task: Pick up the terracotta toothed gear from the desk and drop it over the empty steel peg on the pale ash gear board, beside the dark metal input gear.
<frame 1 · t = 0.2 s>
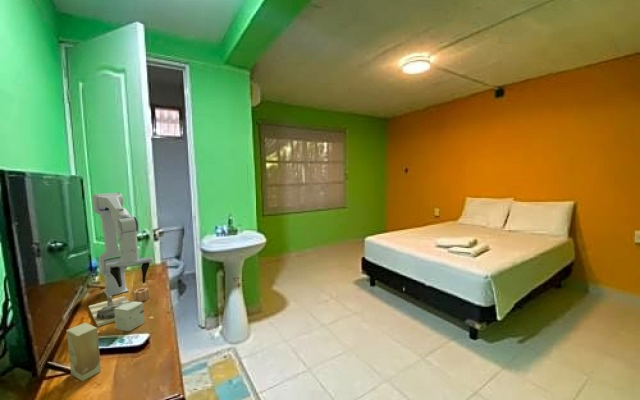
hand: (132, 284, 110), 10 cm above the table, fingers open, 7 cm apart
skincare box: (130, 326, 99), on the table
loose gear: (141, 299, 119), on the table
gear board: (112, 310, 110), on the table
skincare box 2: (86, 373, 75), on the table
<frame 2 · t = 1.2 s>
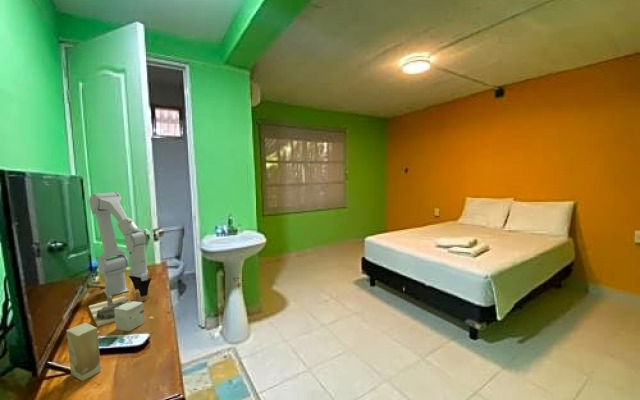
hand: (141, 293, 119), 3 cm above the table, fingers open, 7 cm apart
nothing on the table moved.
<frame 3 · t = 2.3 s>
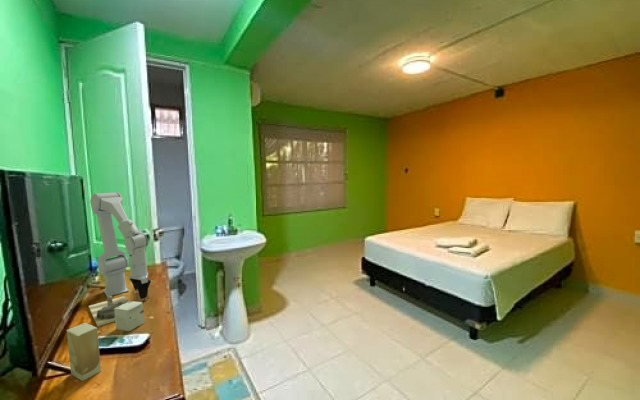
hand: (141, 295, 119), 2 cm above the table, fingers closed on loose gear, 5 cm apart
loose gear: (141, 299, 119), on the table, touching gripper
everything else where it was.
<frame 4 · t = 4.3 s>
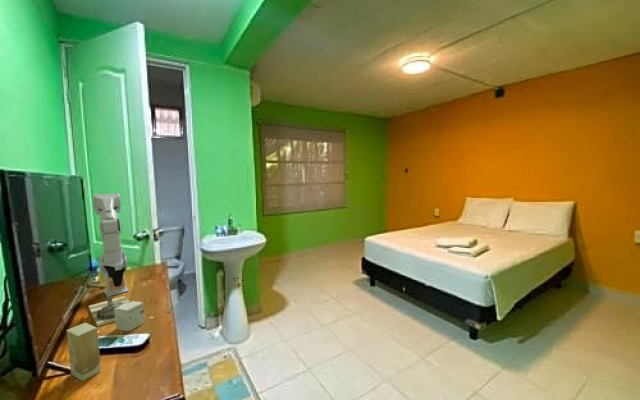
hand: (116, 283, 113), 9 cm above the table, fingers closed on loose gear, 5 cm apart
loose gear: (116, 287, 113), point 7 cm above the table, touching gripper
everything else where it was.
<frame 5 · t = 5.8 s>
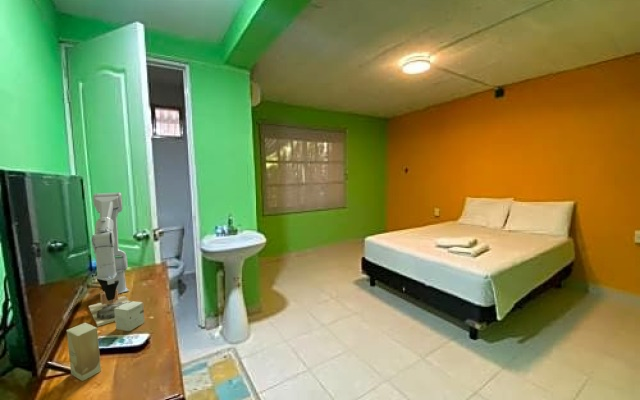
hand: (109, 297, 112), 4 cm above the table, fingers closed on loose gear, 5 cm apart
loose gear: (109, 301, 112), point 3 cm above the table, touching gripper
everything else where it was.
when the fingers open (4 cm above the table, at t = 6.6 s): loose gear drops 2 cm, resting on gear board.
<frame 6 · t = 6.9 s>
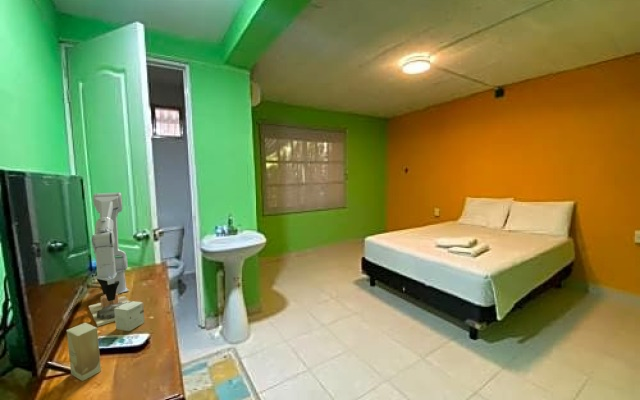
hand: (109, 297, 112), 4 cm above the table, fingers open, 7 cm apart
loose gear: (110, 305, 113), point 1 cm above the table, touching gear board
everything else where it was.
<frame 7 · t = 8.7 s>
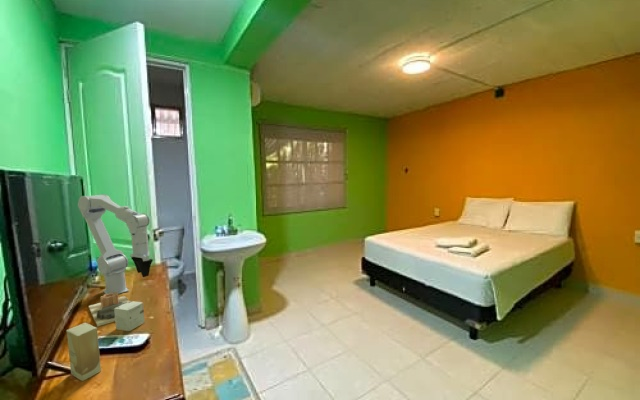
hand: (143, 274, 122), 9 cm above the table, fingers open, 7 cm apart
nothing on the table moved.
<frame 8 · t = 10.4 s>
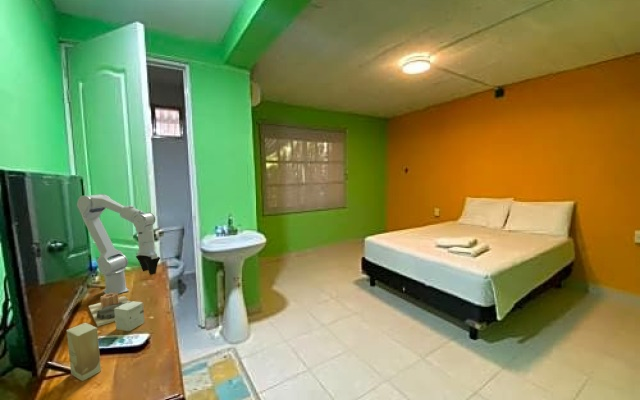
hand: (149, 272, 124), 9 cm above the table, fingers open, 7 cm apart
nothing on the table moved.
at the end: loose gear 0.0 cm from the target spot on the gear board, point 1.0 cm above the gear board's base; loose gear tilted 0°; the gripper is holding nothing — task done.
